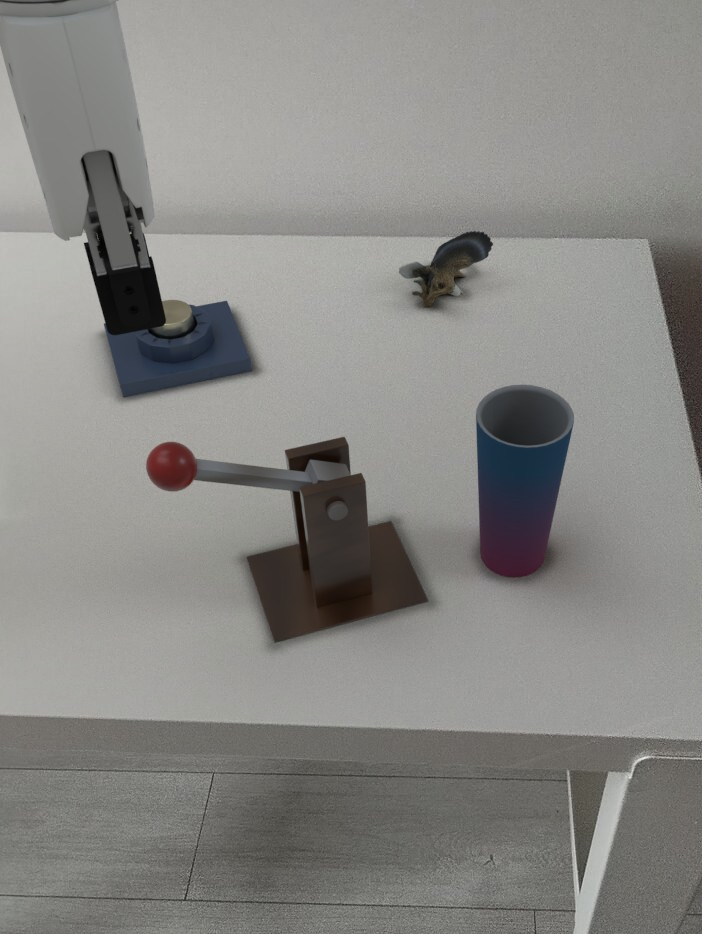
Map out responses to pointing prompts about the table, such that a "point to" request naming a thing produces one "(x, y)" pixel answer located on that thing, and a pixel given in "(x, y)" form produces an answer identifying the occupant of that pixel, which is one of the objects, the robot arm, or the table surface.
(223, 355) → the box
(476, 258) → the brown squirrel toy
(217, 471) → the lever
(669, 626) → the table surface
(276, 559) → the bracket
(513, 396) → the cup
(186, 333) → the button
